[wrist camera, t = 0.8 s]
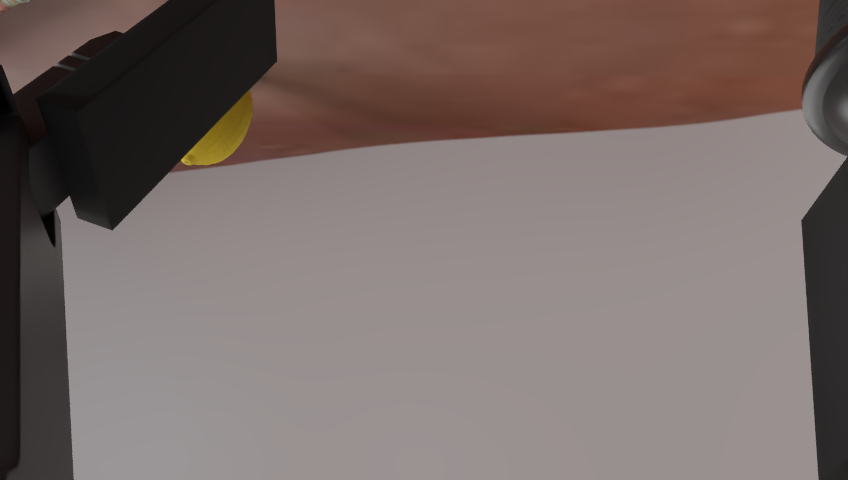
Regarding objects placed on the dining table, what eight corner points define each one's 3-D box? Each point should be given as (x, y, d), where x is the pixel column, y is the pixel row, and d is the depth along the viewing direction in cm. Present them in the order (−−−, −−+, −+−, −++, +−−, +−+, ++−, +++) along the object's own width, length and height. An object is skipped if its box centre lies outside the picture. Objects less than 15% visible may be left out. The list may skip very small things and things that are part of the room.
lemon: (265, 52, 45) (224, 152, 42) (268, 100, 50) (231, 194, 47) (182, 28, 45) (134, 127, 42) (193, 79, 50) (151, 172, 47)
